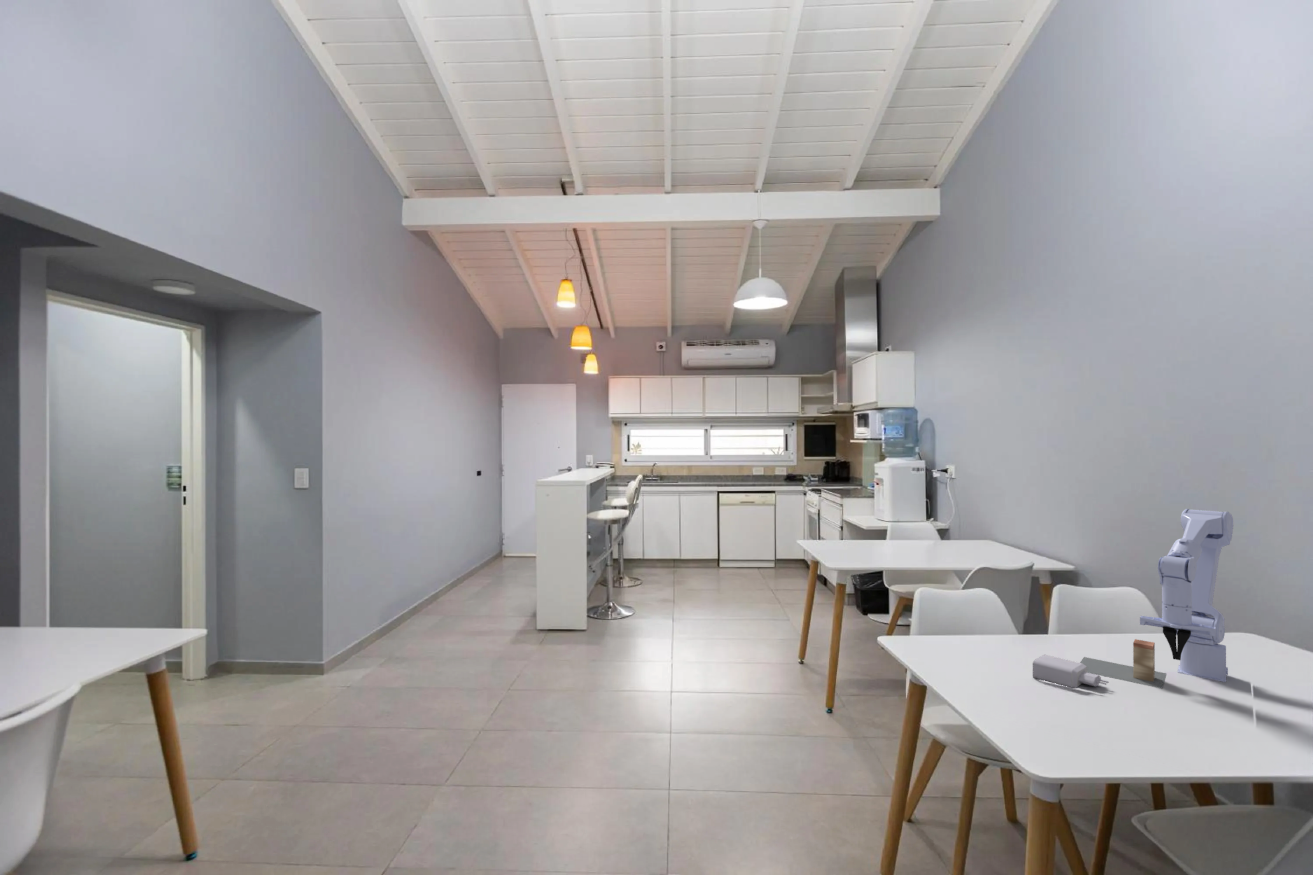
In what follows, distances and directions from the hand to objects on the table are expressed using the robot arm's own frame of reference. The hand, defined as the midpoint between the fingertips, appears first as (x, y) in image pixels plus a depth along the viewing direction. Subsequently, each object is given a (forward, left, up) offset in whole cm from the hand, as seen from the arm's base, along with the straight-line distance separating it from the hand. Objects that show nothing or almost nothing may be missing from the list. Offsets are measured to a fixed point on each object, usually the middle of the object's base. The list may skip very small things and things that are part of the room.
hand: (1176, 658), depth 154 cm
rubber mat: (+11, -1, -7) cm, 13 cm away
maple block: (+6, 0, -6) cm, 9 cm away
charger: (+20, +16, -7) cm, 26 cm away
